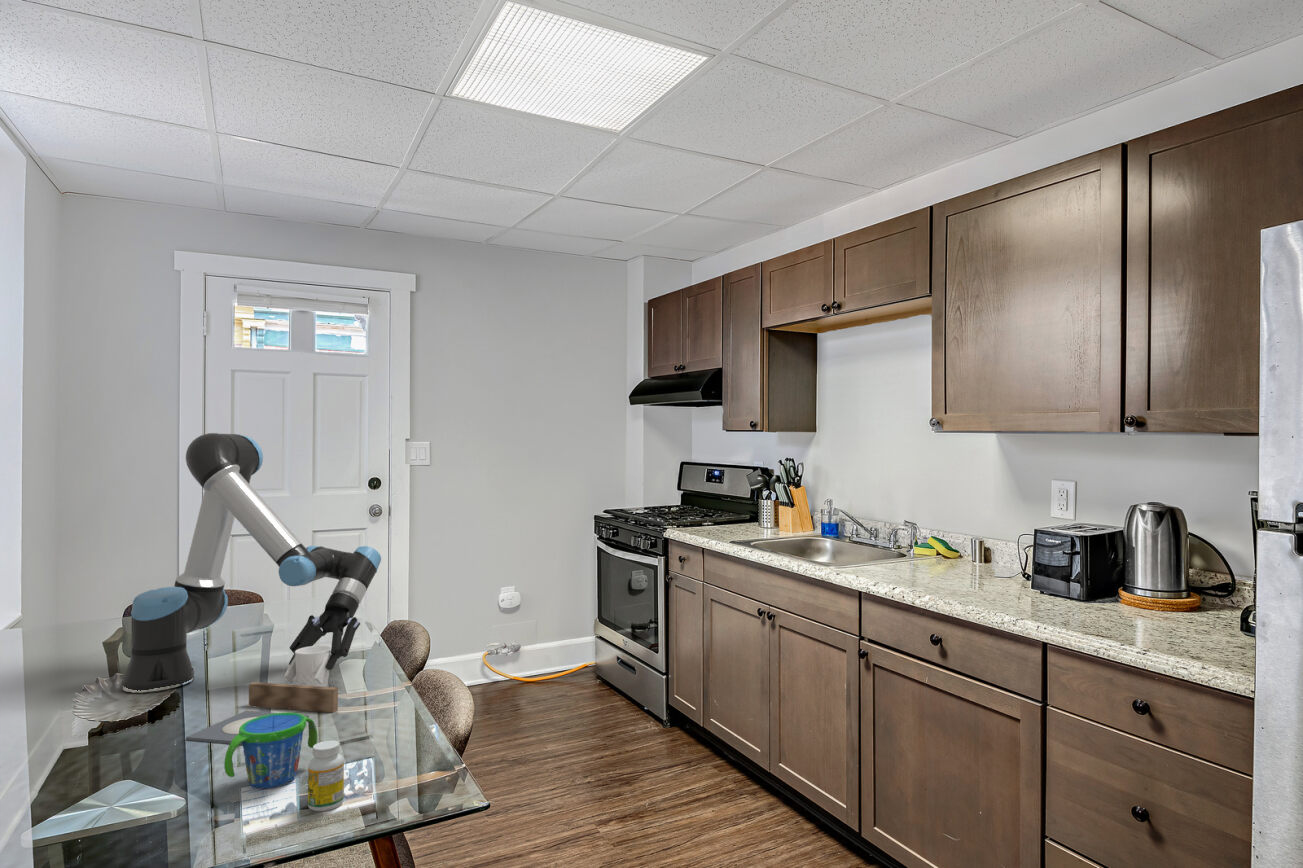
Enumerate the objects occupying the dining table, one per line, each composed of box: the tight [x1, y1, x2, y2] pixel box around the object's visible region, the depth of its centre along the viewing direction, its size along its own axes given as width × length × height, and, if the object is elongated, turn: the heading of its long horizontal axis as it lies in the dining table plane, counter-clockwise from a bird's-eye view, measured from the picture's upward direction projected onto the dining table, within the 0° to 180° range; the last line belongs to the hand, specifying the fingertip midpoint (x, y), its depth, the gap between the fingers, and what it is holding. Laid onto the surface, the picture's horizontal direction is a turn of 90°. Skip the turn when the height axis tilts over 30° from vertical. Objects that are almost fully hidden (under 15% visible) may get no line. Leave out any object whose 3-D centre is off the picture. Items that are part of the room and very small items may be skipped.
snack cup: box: [223, 711, 319, 789], centre depth 130 cm, size 16×10×10 cm
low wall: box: [248, 681, 339, 713], centre depth 168 cm, size 22×2×5 cm, turn 77°
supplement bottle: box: [307, 740, 345, 812], centre depth 120 cm, size 5×5×10 cm
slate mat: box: [185, 710, 310, 746], centre depth 155 cm, size 16×16×1 cm
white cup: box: [295, 645, 331, 687], centre depth 180 cm, size 8×8×10 cm
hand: (303, 680), depth 177 cm, fingers closed on white cup, 8 cm apart
